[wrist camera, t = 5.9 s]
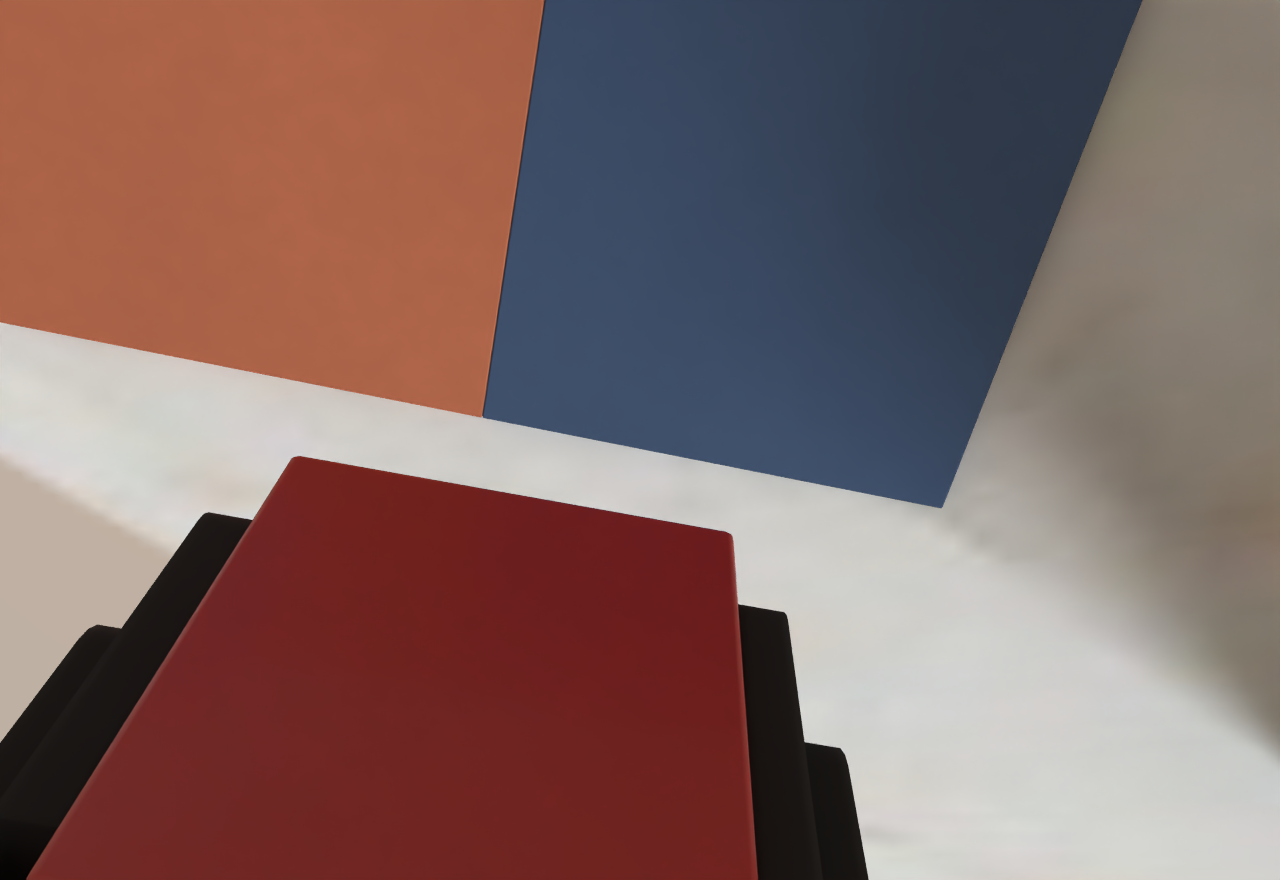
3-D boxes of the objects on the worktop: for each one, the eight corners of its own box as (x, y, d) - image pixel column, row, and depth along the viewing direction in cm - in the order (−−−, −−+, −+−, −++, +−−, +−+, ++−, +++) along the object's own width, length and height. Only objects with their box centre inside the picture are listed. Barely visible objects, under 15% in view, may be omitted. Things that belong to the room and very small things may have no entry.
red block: (279, 773, 13) (67, 1265, 8) (292, 450, 11) (18, 880, 6) (650, 833, 13) (634, 1340, 9) (735, 529, 11) (769, 995, 6)
